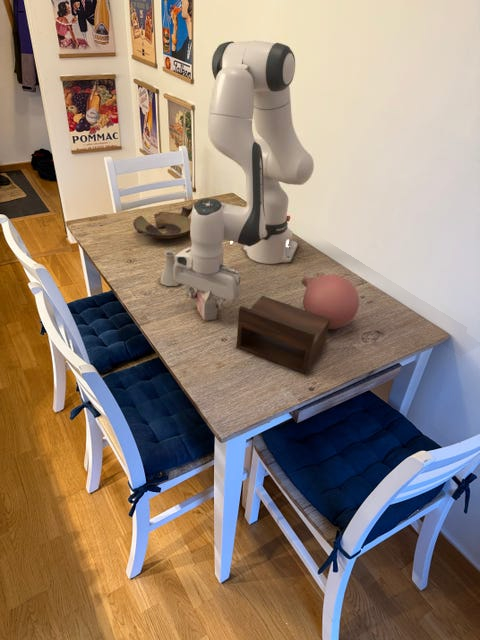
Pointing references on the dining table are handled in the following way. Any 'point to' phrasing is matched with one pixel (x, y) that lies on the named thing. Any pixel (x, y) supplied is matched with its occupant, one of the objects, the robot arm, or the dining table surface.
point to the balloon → (331, 298)
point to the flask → (169, 270)
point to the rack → (282, 333)
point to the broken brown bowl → (166, 224)
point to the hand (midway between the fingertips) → (206, 302)
